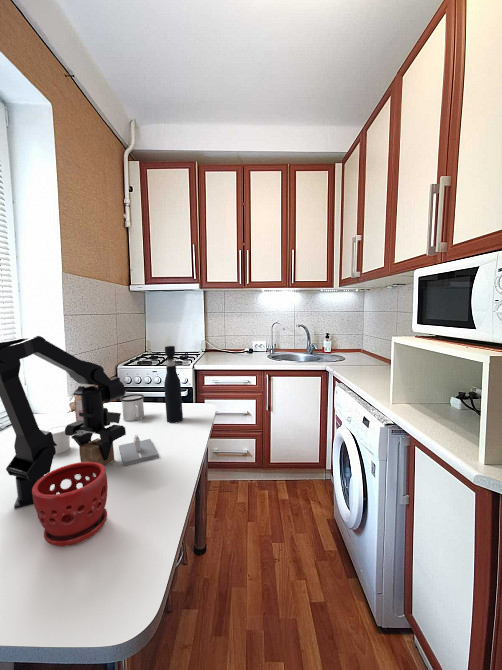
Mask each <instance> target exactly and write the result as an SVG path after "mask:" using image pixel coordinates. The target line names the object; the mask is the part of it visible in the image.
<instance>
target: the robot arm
mask: <svg viewBox="0 0 502 670" xmlns="http://www.w3.org/2000/svg"><path fill="white" fill-rule="evenodd" d="M32 355H33V356H36V357H38V358H40V359H42V360H43V361H46V362H48V363H49V364H52V365H54V366H55V367H57V368H59V369H62V370H64V371H65V372H66V373H68V375H69V377H70V378H72V380H74V381H76V383H77V384H81V385H80V386H78V387H77V388H76V389H75V390H74V391H73V393H72V395H73V396H78V397H79V396H80V401H81V404H82V412H80V413H79V416H82V417H83V421H82V420H79V421H76V420H75V421H74V422H71V423H69V424H66V428H65V435H69V436H70V437H71V439H72V440H74V441H75V443H76V444H77V445H78V447H80V446H82V445H84V444H86V443H88V442H89V441H92V436H93V435H94V434H96V435H99V439H100V440H98V441H97V443H98V446H99V449H100V452H101V454H102V457H103V459H104V460H107V459H108V456H109V453H110V449H111V446H112V443H113V444H114V441H115V440H118V439H120V438H122V437H124V436H126V434H127V432H126V426H123V425H120V422H121V421H120V419H121V414H122V413H121V412H113V411H109V409H108V408H107V407H104V403H110V402H112V401H116V400H118V399H120V398H121V397H123V396H126V391H127V389H126V387H125V384H124V383H123V382H122V381H121V377H120V376H119V377H118V376H113V377H111V378H110V377H109V375H107V374H106V372H105V369H104V367H103V366H102V365H101V364H96V363H94V362H90V361H86V360H83V359H80V358H77V357H76V356H74V355H72V354H71V353H68V352H67V351H65V350H64V349H62V348H60V347H59V346H56V345H55V344H53V343H52V342H50V341H48V340H46V339H45V337H43V336H41V335H28V336H24V337H21V338H18V339H12V340H7V341H0V400H1V402H2V405H3V406H4V410H5V412H6V414H7V417H8V419H9V422H10V424H11V427H12V429H13V431H14V433H15V439H14V446H13V447H14V450H15V451H14V453H15V455H14V456H13V458H12V459H11V461H10V462H9V463H8V465H7V466H6V468H5V470H6V473H8V475H9V476H13V477H15V484H16V486H15V487H16V493H17V494H16V495H17V497H16V500H15V503H14V504H13V507H14V509H17V508H21V507H24V506H29V505H32V504H33V505H34V502H33V495H32V488H33V486H34V484H35V483H36V482H37V481H38V480H39V479H40V478H42V477H43V476H44V475H46V474H48V473H50V472H51V469H52V464H53V460H54V456H56V450H55V447H54V446H57V444H56V443H55V442H54V440H53V435H52V433H51V432H49V431H48V430H43V429H40V428H39V425H38V422H37V419H36V418H35V414H34V412H33V410H32V407H31V404H30V401H29V400H28V396H27V394H26V391H25V389H24V387H23V384H22V381H21V379H20V370H21V369H20V368H21V365H22V363H21V359H25V358H28V357H29V356H32ZM82 385H83V386H82ZM84 385H88V386H84ZM89 385H90V386H89ZM113 423H115V424H113ZM111 424H113V425H111ZM107 426H108V427H107ZM43 494H44V493H43Z"/></svg>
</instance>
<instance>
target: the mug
mask: <svg viewBox="0 0 502 670" xmlns="http://www.w3.org/2000/svg"><path fill="white" fill-rule="evenodd" d="M144 398H145V395H144V394H142V393H135V394H133V393H132V394H128V395H127V394H126V395H124V396H123V397H121V398H119V399H120V400H119V401H121V409H122V419H123V421H126V422H135V421H134V420H136V421H139V420H142V419H143V418H144V417H145V410H144V409H145V407H144ZM141 418H142V419H141ZM138 419H139V420H138Z"/></svg>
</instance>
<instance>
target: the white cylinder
mask: <svg viewBox="0 0 502 670" xmlns="http://www.w3.org/2000/svg"><path fill="white" fill-rule="evenodd" d="M66 426H67V425H66ZM66 426H65V425H63V426H62V425H61V426H56V427H52V428H50V429H48V430H47V431H49V432H51V433H52V435H53V440H54V442H55V443H56V444H57V446H54V447H55V450H56V454H62V453H65V452H67V451H68V450H70V445H71V444H70V441H71V439H70V437H71V436H69V435H65V428H66ZM56 454H55V455H56Z"/></svg>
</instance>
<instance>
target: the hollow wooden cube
mask: <svg viewBox="0 0 502 670" xmlns="http://www.w3.org/2000/svg"><path fill="white" fill-rule="evenodd" d="M100 439H101V438H95V439H93V440H91V441H89V442H88V443H86V444H84V445H82V446H78V447H79V449H78V450H79V457H80V458H79V459H80V462H97V463H100V464H102V465H103V466H104V467H105V466H107V465H108V464H110V463H111V462H114V461H115V450H114V442H113V443H112V446H111V449H110V453H109V456H108V459H107V460H104V459H103V457H102V454H101V452H100V449H99V446H98V443H97V441H98V440H100Z"/></svg>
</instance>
